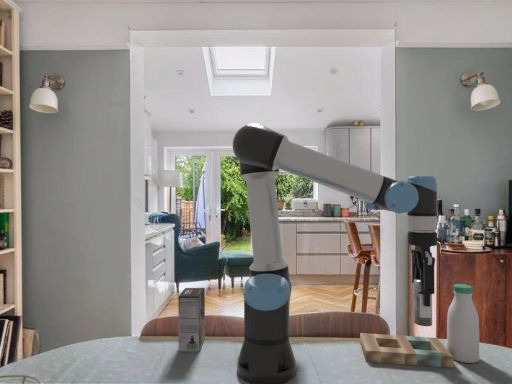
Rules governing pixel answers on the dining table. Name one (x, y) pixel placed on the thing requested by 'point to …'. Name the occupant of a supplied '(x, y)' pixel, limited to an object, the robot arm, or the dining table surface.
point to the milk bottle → (463, 326)
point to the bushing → (417, 318)
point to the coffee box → (191, 319)
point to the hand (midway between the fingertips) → (422, 313)
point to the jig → (405, 350)
